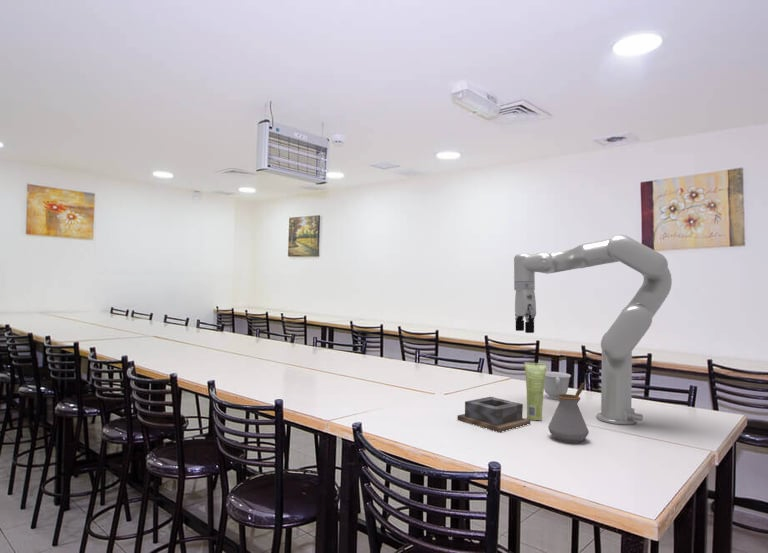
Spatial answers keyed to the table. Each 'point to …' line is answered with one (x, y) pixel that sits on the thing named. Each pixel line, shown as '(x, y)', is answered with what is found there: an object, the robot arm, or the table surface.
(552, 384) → the teacup
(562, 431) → the coffee pot
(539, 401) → the tube
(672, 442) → the table surface
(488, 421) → the socket board
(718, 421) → the table surface
